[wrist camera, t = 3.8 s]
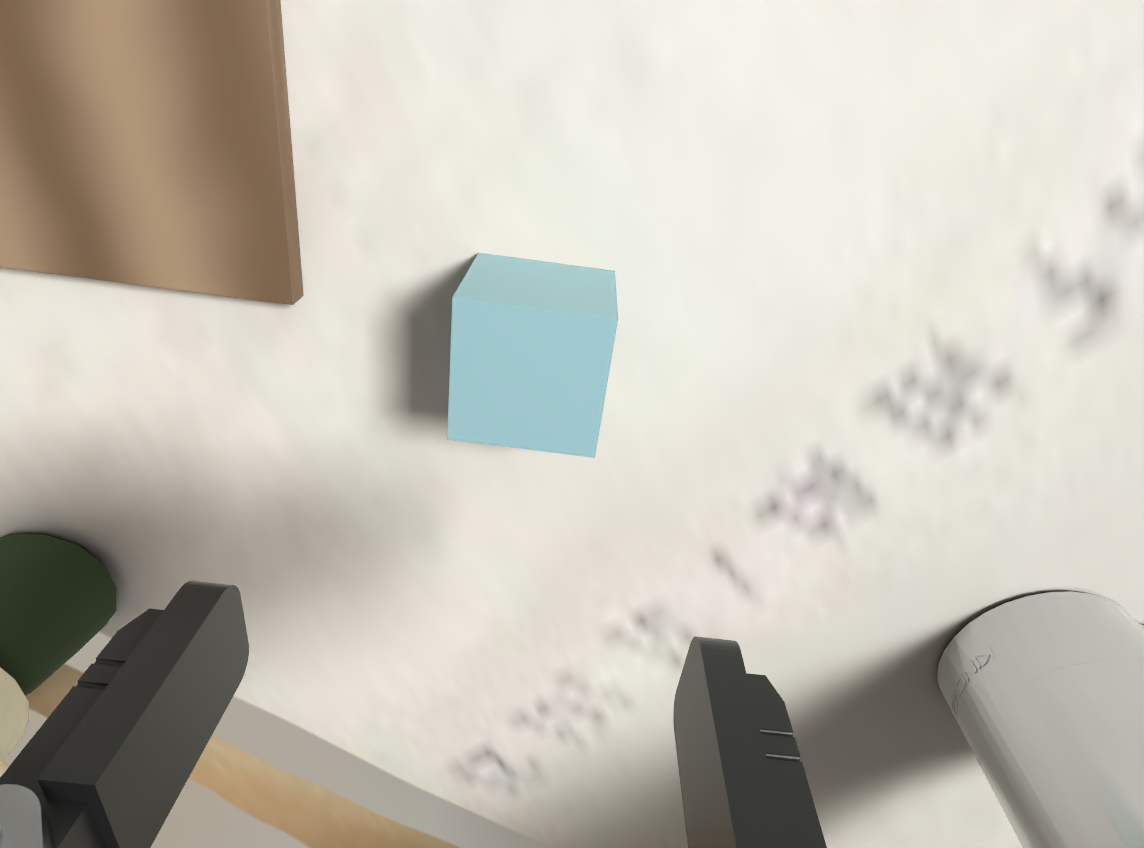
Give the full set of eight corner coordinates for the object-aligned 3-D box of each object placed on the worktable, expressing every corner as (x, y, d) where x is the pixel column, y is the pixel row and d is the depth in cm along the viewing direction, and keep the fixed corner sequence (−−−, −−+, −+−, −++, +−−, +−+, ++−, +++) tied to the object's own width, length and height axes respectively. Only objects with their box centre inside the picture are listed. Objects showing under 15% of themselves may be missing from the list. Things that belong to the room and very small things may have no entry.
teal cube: (614, 270, 25) (618, 318, 20) (595, 391, 27) (594, 457, 23) (478, 252, 24) (452, 296, 20) (471, 375, 27) (447, 439, 22)
